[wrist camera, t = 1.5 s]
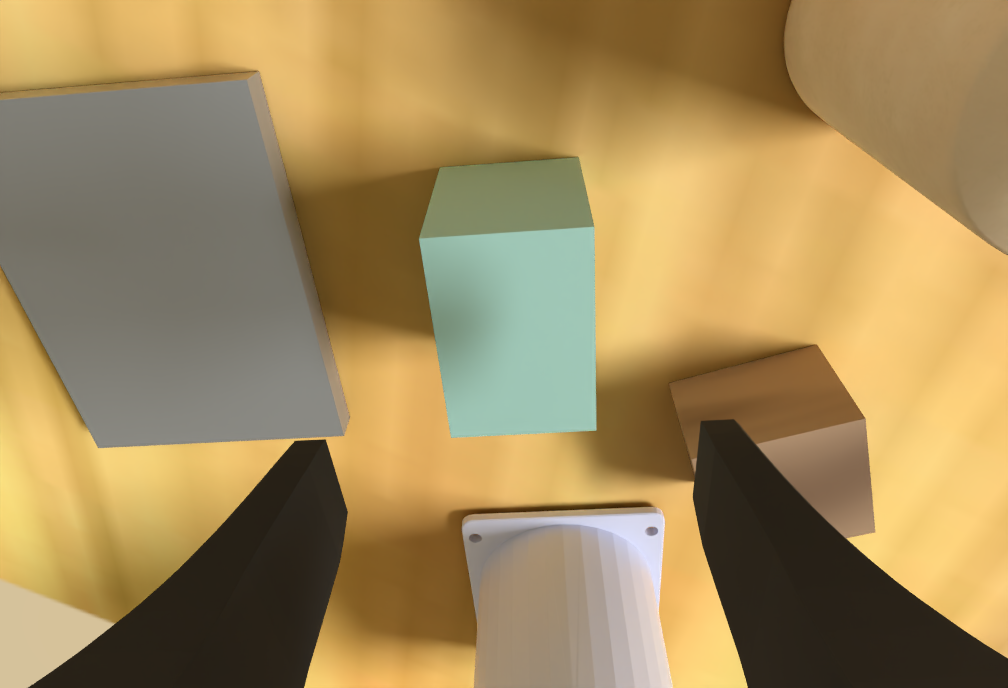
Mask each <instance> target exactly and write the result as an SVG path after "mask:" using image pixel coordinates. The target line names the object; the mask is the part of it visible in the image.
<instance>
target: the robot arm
mask: <svg viewBox="0 0 1008 688" xmlns="http://www.w3.org/2000/svg"><path fill="white" fill-rule="evenodd" d="M693 501H694V506H695V511H696V516H697V521H698V526H699V531H700V536H701V540H702V545H703V549H704V552H705V555H706V558H707V561H708V564H709V567H710V570H711V573H712V576H713V580H714V583H715V586H716V589H717V592H718V595H719V598H720V601H721V604H722V606H723V609H724V612H725V615H726V618H727V621H728V624H729V627H730V630H731V633H732V636H733V639H734V642H735V645H736V648H737V651H738V654H739V657H740V661H741V664H742V668H743V671H744V675H745V678H746V682H747V686H748V688H1008V658H1006V657H1004V656H1003V655H1001V654H1000V653H998V652H996V651H995V650H993V649H992V648H990V647H988V646H987V645H985V644H984V643H982V642H980V641H979V640H977V639H976V638H974V637H973V636H971V635H970V634H968V633H967V632H965V631H964V630H962V629H961V628H960V627H958V626H957V625H955V624H954V623H953V622H951V621H950V620H948V619H947V618H945V617H944V616H943V615H941V614H940V613H938V612H937V611H936V610H934V609H933V608H931V607H930V606H928V605H927V604H926V603H924V602H923V601H921V600H920V599H919V598H917V597H916V596H915V595H913V594H912V593H911V592H909V591H908V590H907V589H905V588H904V587H903V586H901V585H900V584H899V583H898V582H896V581H895V580H894V579H893V578H891V577H890V576H889V575H888V574H887V573H885V572H884V571H883V570H882V569H880V568H879V567H878V566H877V565H876V564H874V563H873V562H872V561H871V560H870V559H868V558H867V557H866V556H865V555H864V554H863V553H862V552H860V551H859V550H858V549H857V548H856V547H855V546H854V545H853V544H852V543H850V542H849V541H848V540H847V539H846V538H845V537H844V536H843V535H842V534H841V533H840V532H839V531H838V530H836V529H835V528H834V527H833V526H832V525H831V524H830V523H829V522H828V521H827V520H826V519H825V518H824V517H823V516H822V515H821V514H820V513H819V512H818V511H817V510H816V509H815V508H814V507H813V506H812V505H811V504H810V503H809V502H808V501H807V500H806V499H805V498H804V497H803V496H802V495H801V494H800V493H799V492H798V491H797V489H796V488H795V487H794V486H793V485H792V484H791V483H790V482H789V481H788V480H787V479H786V478H785V477H784V476H783V474H782V473H781V472H780V471H779V470H778V469H777V468H776V467H775V466H774V464H773V463H772V462H771V461H770V460H769V459H768V458H767V456H766V455H765V454H764V453H763V452H762V451H761V450H760V448H759V447H758V446H757V445H756V444H755V442H754V441H753V440H752V439H751V438H750V436H749V435H748V434H747V433H746V432H745V430H744V429H743V428H742V427H741V426H740V424H739V423H738V422H736V421H735V420H734V419H726V420H706V421H701V423H700V433H699V442H698V452H697V461H696V471H695V481H694V490H693ZM347 513H348V511H347V508H346V505H345V502H344V498H343V495H342V492H341V488H340V485H339V482H338V479H337V475H336V472H335V469H334V465H333V462H332V459H331V456H330V452H329V449H328V446H327V442H326V439H325V440H305V441H295V442H294V443H293V444H292V445H291V446H290V447H289V448H288V450H287V451H286V452H285V453H284V454H283V455H282V456H281V458H280V459H279V460H278V461H277V462H276V463H275V465H274V466H273V467H272V468H271V469H270V470H269V472H268V473H267V474H266V475H265V476H264V478H263V479H262V480H261V481H260V482H259V483H258V485H257V486H256V487H255V488H254V489H253V490H252V492H251V493H250V494H249V495H248V496H247V497H246V498H245V500H244V501H243V502H242V503H241V504H240V505H239V506H238V507H237V509H236V510H235V511H234V512H233V513H232V514H231V515H230V516H229V517H228V519H227V520H226V521H225V522H224V523H223V524H222V525H221V526H220V527H219V528H218V530H217V531H216V532H215V533H214V534H213V535H212V536H211V537H210V538H209V539H208V540H207V541H206V542H205V543H204V544H203V545H202V546H201V547H200V548H199V549H198V550H197V551H196V552H195V553H194V554H193V555H192V556H191V557H190V558H189V559H188V560H187V561H186V562H185V563H184V564H183V565H182V566H181V567H180V568H179V569H178V570H177V571H176V572H175V573H174V574H173V575H172V576H171V577H170V578H169V579H168V580H166V581H165V582H164V583H163V584H162V585H161V586H160V587H159V588H157V589H156V590H155V591H154V592H153V593H152V594H151V595H150V596H148V597H147V598H146V599H145V600H144V601H143V602H142V603H140V604H139V605H138V606H137V607H136V608H135V609H133V610H132V611H131V612H130V613H128V614H127V615H126V616H125V617H123V618H122V619H121V620H120V621H118V622H117V623H116V624H114V625H113V626H112V627H111V628H110V629H108V630H107V631H106V632H104V633H103V634H102V635H100V636H99V637H98V638H97V639H95V640H94V641H93V642H92V643H90V644H89V645H88V646H87V647H85V648H84V649H83V650H81V651H80V652H79V653H77V654H76V655H74V656H73V657H72V658H70V659H69V660H67V661H66V662H65V663H63V664H62V665H60V666H59V667H58V668H56V669H55V670H54V671H52V672H51V673H49V674H48V675H46V676H45V677H43V678H42V679H40V680H39V681H37V682H36V683H34V684H33V685H31V686H30V687H28V688H304V686H305V682H306V678H307V674H308V670H309V666H310V663H311V659H312V656H313V653H314V649H315V646H316V642H317V639H318V636H319V632H320V629H321V625H322V622H323V619H324V615H325V612H326V608H327V605H328V602H329V598H330V595H331V591H332V588H333V584H334V581H335V577H336V574H337V570H338V567H339V563H340V558H341V552H342V547H343V541H344V534H345V527H346V520H347ZM664 524H665V520H664V516H663V512H662V511H661V510H660V509H659V508H656V507H634V508H610V509H587V510H563V511H539V512H515V513H491V514H472V515H468V516H466V517H465V518H464V519H463V520H462V535H463V541H464V547H465V553H466V559H467V565H468V571H469V577H470V583H471V589H472V595H473V601H474V607H475V613H476V619H477V642H476V659H475V676H474V688H673V685H672V680H671V675H670V670H669V665H668V659H667V654H666V649H665V644H664V639H663V633H662V628H661V623H660V618H659V598H660V583H661V569H662V554H663V539H664ZM648 527H653V528H648ZM473 534H479V535H473Z"/></svg>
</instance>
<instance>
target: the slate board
mask: <svg viewBox="0 0 1008 688" xmlns="http://www.w3.org/2000/svg"><path fill="white" fill-rule="evenodd" d="M0 266H1V268H2V269H3V271H4V273H5V275H6V277H7V279H8V281H9V282H10V284H11V286H12V288H13V290H14V292H15V294H16V296H17V297H18V299H19V301H20V303H21V305H22V307H23V309H24V310H25V312H26V314H27V316H28V318H29V320H30V322H31V323H32V325H33V327H34V329H35V331H36V333H37V335H38V337H39V338H40V340H41V342H42V344H43V346H44V348H45V350H46V351H47V353H48V355H49V357H50V359H51V361H52V363H53V364H54V366H55V368H56V370H57V372H58V374H59V376H60V377H61V379H62V381H63V383H64V385H65V387H66V389H67V391H68V392H69V394H70V396H71V398H72V400H73V402H74V404H75V405H76V407H77V409H78V411H79V413H80V415H81V417H82V418H83V420H84V422H85V424H86V426H87V428H88V430H89V432H90V433H91V435H92V437H93V439H94V441H95V443H96V445H97V446H98V448H109V447H129V446H149V445H169V444H189V443H210V442H230V441H250V440H270V439H290V438H311V437H331V436H344V434H345V431H346V428H347V425H348V422H349V419H350V416H349V412H348V409H347V405H346V401H345V397H344V393H343V389H342V386H341V382H340V378H339V374H338V370H337V367H336V363H335V359H334V355H333V351H332V347H331V344H330V340H329V336H328V332H327V328H326V325H325V321H324V317H323V313H322V309H321V306H320V302H319V298H318V294H317V290H316V286H315V283H314V279H313V275H312V271H311V267H310V264H309V260H308V256H307V252H306V248H305V245H304V241H303V237H302V233H301V229H300V225H299V222H298V218H297V214H296V210H295V206H294V203H293V199H292V195H291V191H290V187H289V183H288V180H287V176H286V172H285V168H284V164H283V161H282V157H281V153H280V149H279V145H278V142H277V138H276V134H275V130H274V126H273V122H272V119H271V115H270V111H269V107H268V103H267V100H266V96H265V92H264V88H263V84H262V81H261V77H260V73H259V71H255V72H243V73H231V74H219V75H207V76H195V77H183V78H171V79H159V80H147V81H135V82H123V83H111V84H99V85H87V86H75V87H63V88H50V89H38V90H26V91H14V92H2V93H0Z"/></svg>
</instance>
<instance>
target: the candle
mask: <svg viewBox="0 0 1008 688" xmlns="http://www.w3.org/2000/svg"><path fill="white" fill-rule="evenodd" d="M784 54H785V61H786V66H787V70H788V73H789V76H790V79H791V81H792V83H793V85H794V87H795V89H796V91H797V93H798V94H799V96H800V98H801V99H802V100H803V102H804V103H805V104H806V105H807V107H808V108H810V109H811V110H812V111H813V112H814V113H815V114H816V115H817V116H819V117H820V118H821V119H822V120H823V121H825V122H826V123H827V124H828V125H830V126H831V127H832V128H834V129H835V130H836V131H838V132H839V133H840V134H842V135H843V136H844V137H846V138H847V139H848V140H850V141H851V142H852V143H854V144H855V145H856V146H858V147H859V148H861V149H862V150H863V151H865V152H866V153H867V154H869V155H870V156H871V157H873V158H874V159H875V160H877V161H878V162H879V163H881V164H882V165H883V166H885V167H886V168H887V169H889V170H890V171H891V172H893V173H894V174H895V175H897V176H898V177H899V178H901V179H902V180H903V181H905V182H906V183H908V184H909V185H910V186H912V187H913V188H914V189H916V190H917V191H918V192H920V193H921V194H922V195H924V196H925V197H926V198H928V199H929V200H930V201H932V202H933V203H934V204H936V205H937V206H938V207H940V208H941V209H942V210H944V211H945V212H946V213H948V214H949V215H950V216H952V217H953V218H954V219H956V220H957V221H959V222H960V223H961V224H963V225H964V226H965V227H967V228H968V229H969V230H971V231H972V232H973V233H975V234H976V235H977V236H979V237H980V238H981V239H983V240H984V241H986V242H987V243H988V244H990V245H991V246H993V247H995V248H996V249H998V250H999V251H1001V252H1002V253H1004V254H1006V255H1008V0H791V4H790V7H789V10H788V14H787V19H786V24H785V32H784Z"/></svg>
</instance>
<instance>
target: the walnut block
mask: <svg viewBox="0 0 1008 688" xmlns="http://www.w3.org/2000/svg"><path fill="white" fill-rule="evenodd" d="M669 386H670V390H671V394H672V397H673V401H674V405H675V408H676V412H677V415H678V419H679V423H680V426H681V430H682V434H683V437H684V441H685V444H686V448H687V452H688V455H689V459H690V463H691V466H692V470H693V473H694V477H695V471H696V461H697V452H698V442H699V433H700V423H701V421H706V420H726V419H734V420H735V421H736V422H738V423H739V424H740V426H741V427H742V428H743V429H744V430H745V432H746V433H747V434H748V435H749V436H750V438H751V439H752V440H753V441H754V442H755V444H756V445H757V446H758V447H759V448H760V450H761V451H762V452H763V453H764V454H765V455H766V456H767V458H768V459H769V460H770V461H771V462H772V463H773V464H774V466H775V467H776V468H777V469H778V470H779V471H780V472H781V473H782V474H783V476H784V477H785V478H786V479H787V480H788V481H789V482H790V483H791V484H792V485H793V486H794V487H795V488H796V489H797V491H798V492H799V493H800V494H801V495H802V496H803V497H804V498H805V499H806V500H807V501H808V502H809V503H810V504H811V505H812V506H813V507H814V508H815V509H816V510H817V511H818V512H819V513H820V514H821V515H822V516H823V517H824V518H825V519H826V520H827V521H828V522H829V523H830V524H831V525H832V526H833V527H834V528H835V529H836V530H838V531H839V532H840V533H841V534H842V535H843V536H844V537H845V538H849V537H854V536H859V535H864V534H869V533H874V532H875V523H874V512H873V500H872V489H871V477H870V466H869V454H868V443H867V431H866V420H865V417H864V416H863V414H862V413H861V411H860V410H859V408H858V407H857V405H856V403H855V402H854V400H853V399H852V397H851V396H850V394H849V393H848V391H847V390H846V388H845V387H844V385H843V384H842V382H841V381H840V379H839V378H838V376H837V374H836V373H835V371H834V370H833V368H832V367H831V365H830V364H829V362H828V361H827V359H826V358H825V356H824V355H823V353H822V352H821V350H820V349H819V347H818V346H817V345H813V346H809V347H805V348H801V349H798V350H794V351H790V352H786V353H782V354H778V355H775V356H771V357H767V358H763V359H759V360H755V361H751V362H748V363H744V364H740V365H736V366H732V367H728V368H725V369H721V370H717V371H713V372H709V373H705V374H701V375H698V376H694V377H690V378H686V379H682V380H678V381H675V382H671V383H669Z"/></svg>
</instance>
